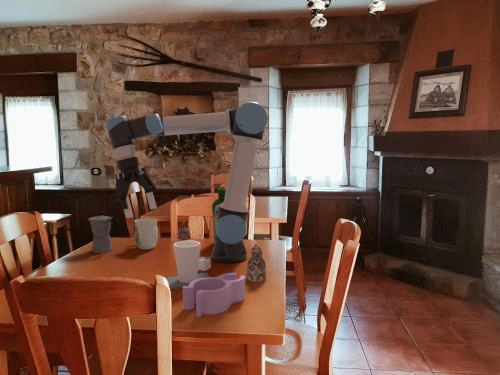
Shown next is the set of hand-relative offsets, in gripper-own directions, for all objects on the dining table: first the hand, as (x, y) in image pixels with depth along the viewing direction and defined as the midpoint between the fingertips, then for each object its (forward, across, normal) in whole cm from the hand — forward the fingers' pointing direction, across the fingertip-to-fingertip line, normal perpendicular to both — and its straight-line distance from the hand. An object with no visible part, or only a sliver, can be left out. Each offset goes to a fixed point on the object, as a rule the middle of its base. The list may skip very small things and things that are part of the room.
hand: (142, 213), depth 152 cm
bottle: (+28, -48, 0) cm, 56 cm away
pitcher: (+19, -27, -28) cm, 43 cm away
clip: (+31, +16, +34) cm, 49 cm away
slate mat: (+27, +5, +16) cm, 32 cm away
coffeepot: (+15, -14, -41) cm, 46 cm away
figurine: (+33, -9, +35) cm, 49 cm away
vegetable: (+23, -44, -19) cm, 53 cm away
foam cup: (+26, +5, +16) cm, 31 cm away
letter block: (+28, -11, +13) cm, 32 cm away
